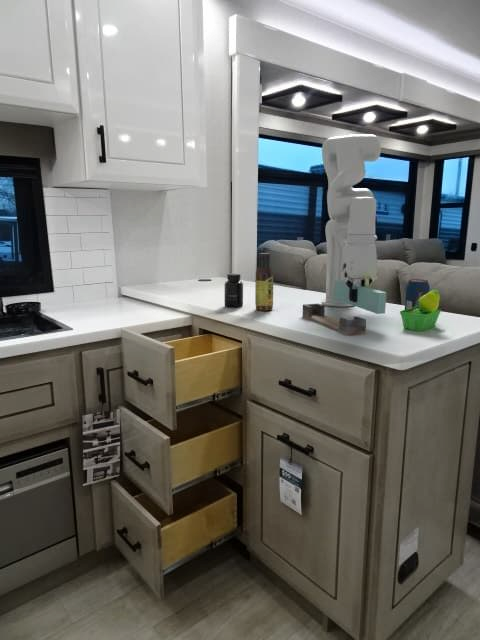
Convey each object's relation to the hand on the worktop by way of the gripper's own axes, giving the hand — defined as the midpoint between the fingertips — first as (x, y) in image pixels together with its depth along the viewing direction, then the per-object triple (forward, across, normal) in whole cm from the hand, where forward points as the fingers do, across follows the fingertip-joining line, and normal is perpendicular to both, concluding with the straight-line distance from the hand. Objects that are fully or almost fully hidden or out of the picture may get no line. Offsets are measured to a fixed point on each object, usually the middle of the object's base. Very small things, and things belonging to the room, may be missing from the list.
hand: (357, 300), depth 137 cm
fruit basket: (+7, -13, +14) cm, 20 cm away
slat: (+2, 0, 0) cm, 2 cm away
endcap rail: (+6, +9, +1) cm, 11 cm away
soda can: (+7, -21, +2) cm, 22 cm away
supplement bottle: (+8, +27, -38) cm, 47 cm away
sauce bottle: (+7, +19, -28) cm, 35 cm away
